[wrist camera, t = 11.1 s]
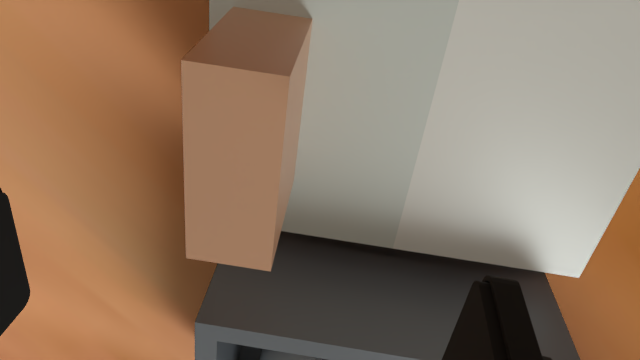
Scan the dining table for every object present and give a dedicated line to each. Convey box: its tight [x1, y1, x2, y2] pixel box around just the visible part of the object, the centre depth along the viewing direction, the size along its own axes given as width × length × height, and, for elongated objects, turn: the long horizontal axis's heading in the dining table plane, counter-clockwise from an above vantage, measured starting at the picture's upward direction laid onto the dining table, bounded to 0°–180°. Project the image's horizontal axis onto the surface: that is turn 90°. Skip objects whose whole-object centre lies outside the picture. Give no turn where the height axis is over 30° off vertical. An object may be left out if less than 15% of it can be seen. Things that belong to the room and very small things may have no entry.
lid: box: [181, 0, 640, 278], centre depth 16 cm, size 15×11×7 cm
